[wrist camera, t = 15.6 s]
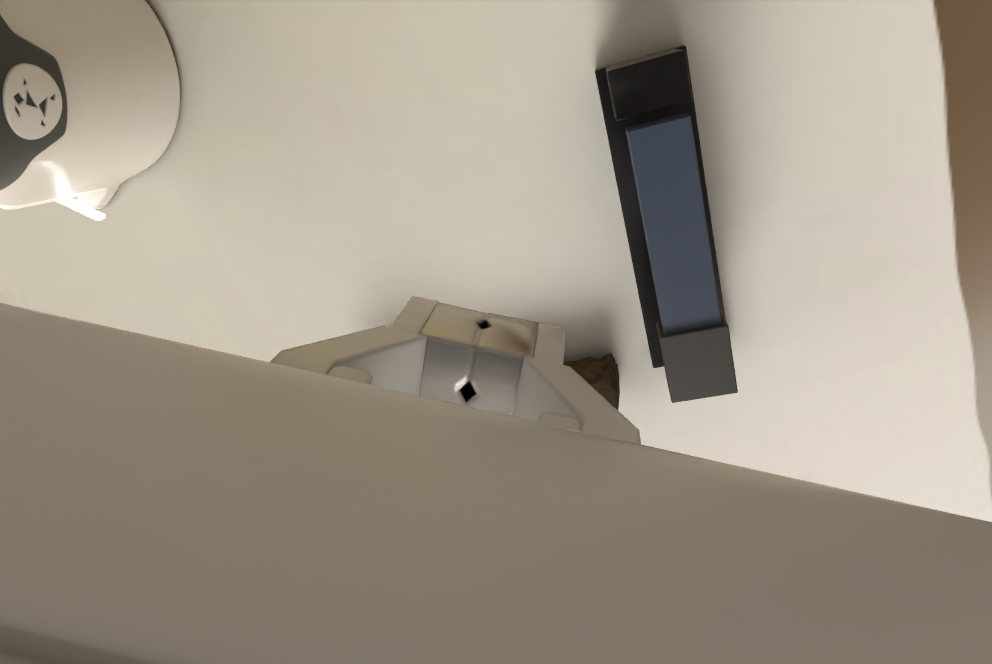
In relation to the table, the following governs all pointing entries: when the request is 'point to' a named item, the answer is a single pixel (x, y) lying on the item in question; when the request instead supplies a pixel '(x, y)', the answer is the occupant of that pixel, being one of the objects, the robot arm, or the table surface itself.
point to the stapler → (629, 102)
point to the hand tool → (600, 376)
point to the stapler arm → (681, 260)
